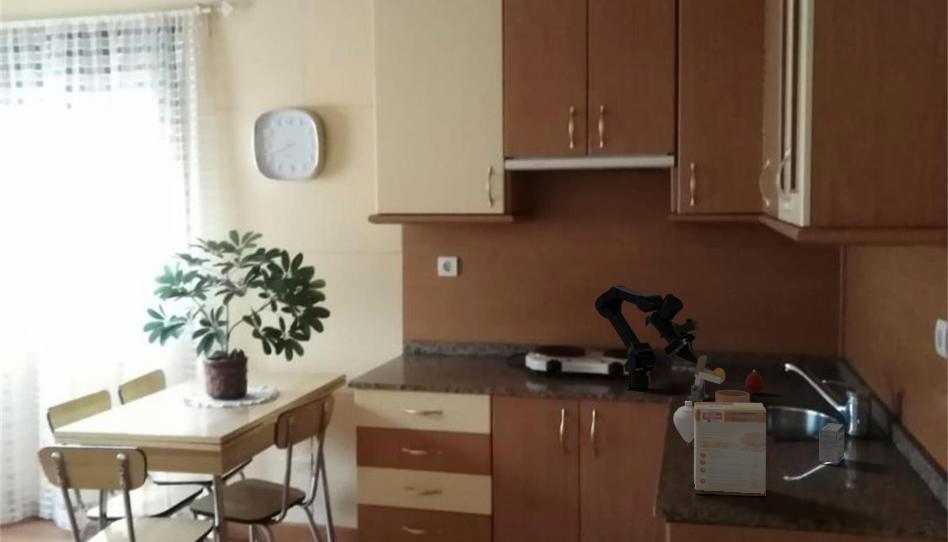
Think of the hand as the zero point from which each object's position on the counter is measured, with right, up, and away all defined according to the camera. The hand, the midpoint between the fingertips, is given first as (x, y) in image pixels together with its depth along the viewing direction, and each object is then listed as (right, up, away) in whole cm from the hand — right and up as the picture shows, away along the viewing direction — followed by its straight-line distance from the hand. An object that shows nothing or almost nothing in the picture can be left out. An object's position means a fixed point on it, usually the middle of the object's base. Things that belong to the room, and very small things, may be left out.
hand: (699, 363), depth 298 cm
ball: (+6, -3, -3) cm, 7 cm away
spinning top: (-16, -17, -54) cm, 59 cm away
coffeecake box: (-15, -20, -91) cm, 95 cm away
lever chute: (+2, -9, 0) cm, 9 cm away
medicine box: (+16, -17, -69) cm, 73 cm away
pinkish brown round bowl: (+9, -12, -4) cm, 16 cm away
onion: (+20, -11, +8) cm, 24 cm away
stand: (0, -12, +1) cm, 12 cm away
